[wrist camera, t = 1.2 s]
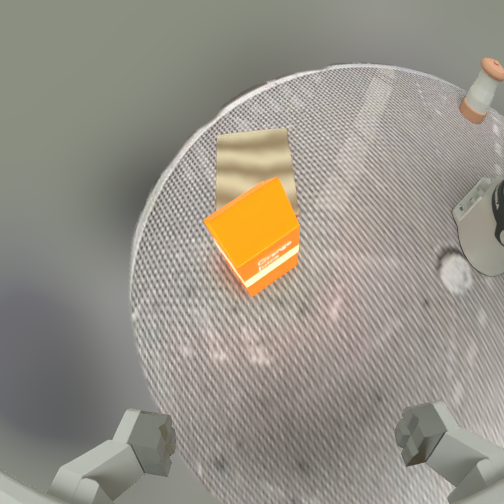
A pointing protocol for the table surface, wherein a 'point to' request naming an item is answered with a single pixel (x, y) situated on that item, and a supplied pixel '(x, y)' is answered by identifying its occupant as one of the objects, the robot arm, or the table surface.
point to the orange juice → (257, 235)
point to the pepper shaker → (482, 91)
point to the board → (253, 164)
